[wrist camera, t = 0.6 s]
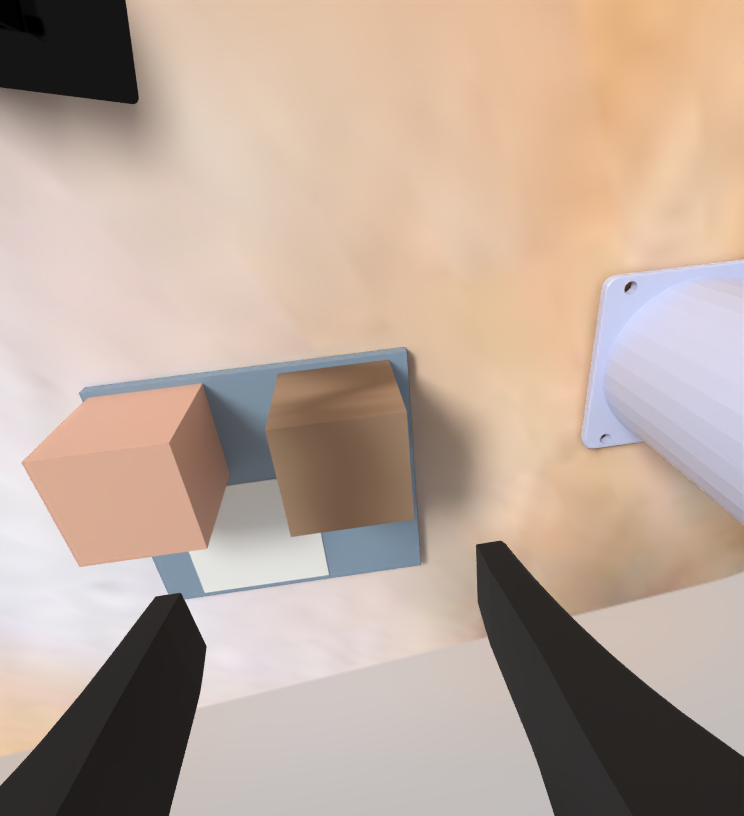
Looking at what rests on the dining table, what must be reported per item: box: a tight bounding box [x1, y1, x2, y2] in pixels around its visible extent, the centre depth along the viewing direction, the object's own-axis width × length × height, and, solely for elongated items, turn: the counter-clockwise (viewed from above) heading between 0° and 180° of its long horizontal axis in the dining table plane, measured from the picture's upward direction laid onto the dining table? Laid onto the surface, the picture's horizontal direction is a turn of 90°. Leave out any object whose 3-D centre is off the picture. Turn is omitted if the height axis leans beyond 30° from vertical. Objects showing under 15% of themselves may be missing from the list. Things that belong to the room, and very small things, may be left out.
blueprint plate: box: [79, 347, 421, 599], centre depth 21 cm, size 13×12×1 cm
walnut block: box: [265, 360, 414, 537], centre depth 17 cm, size 4×4×4 cm
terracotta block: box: [22, 383, 230, 567], centre depth 17 cm, size 4×4×4 cm
